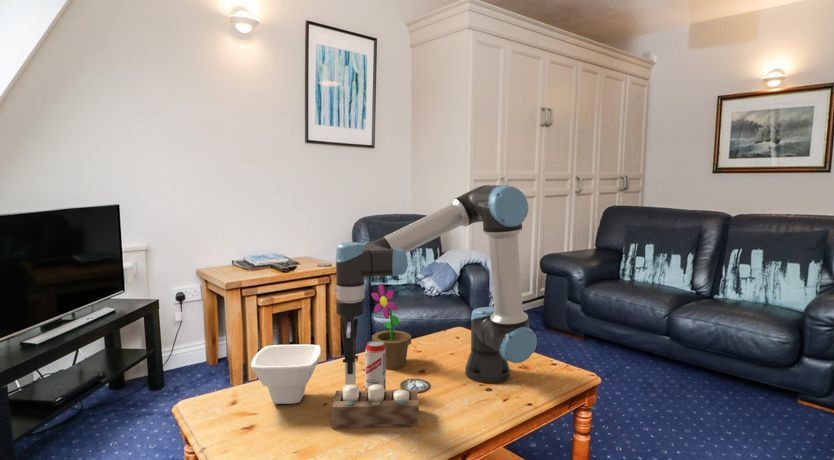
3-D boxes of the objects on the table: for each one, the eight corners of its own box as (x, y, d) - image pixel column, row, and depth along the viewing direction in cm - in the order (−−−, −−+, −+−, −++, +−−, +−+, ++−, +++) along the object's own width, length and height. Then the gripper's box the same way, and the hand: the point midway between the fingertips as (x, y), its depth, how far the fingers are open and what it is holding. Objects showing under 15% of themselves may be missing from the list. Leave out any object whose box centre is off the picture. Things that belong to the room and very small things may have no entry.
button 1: (359, 401, 135) (359, 384, 134) (358, 408, 131) (358, 391, 130) (343, 401, 135) (343, 384, 134) (342, 409, 130) (341, 391, 130)
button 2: (408, 406, 136) (409, 389, 135) (409, 414, 131) (409, 396, 131) (393, 406, 136) (393, 389, 135) (393, 414, 131) (393, 396, 131)
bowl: (316, 414, 135) (316, 366, 133) (246, 416, 133) (245, 367, 132) (325, 386, 153) (324, 343, 152) (263, 387, 152) (262, 344, 150)
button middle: (384, 401, 135) (384, 384, 135) (383, 408, 131) (384, 390, 130) (368, 401, 135) (368, 384, 135) (367, 408, 131) (367, 391, 130)
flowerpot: (363, 364, 171) (362, 282, 168) (390, 354, 182) (390, 276, 179) (392, 375, 162) (392, 288, 159) (419, 363, 173) (420, 281, 170)
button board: (416, 409, 138) (416, 388, 137) (418, 427, 128) (418, 404, 127) (336, 410, 137) (336, 389, 136) (331, 428, 127) (331, 406, 126)
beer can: (382, 398, 145) (382, 347, 143) (362, 396, 146) (362, 345, 144) (387, 389, 151) (388, 340, 149) (368, 388, 152) (368, 339, 150)
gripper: (339, 294, 136) (339, 374, 138) (333, 305, 123) (333, 394, 125) (365, 294, 136) (365, 373, 139) (362, 305, 123) (362, 393, 126)
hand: (350, 383), depth 132 cm, fingers closed
